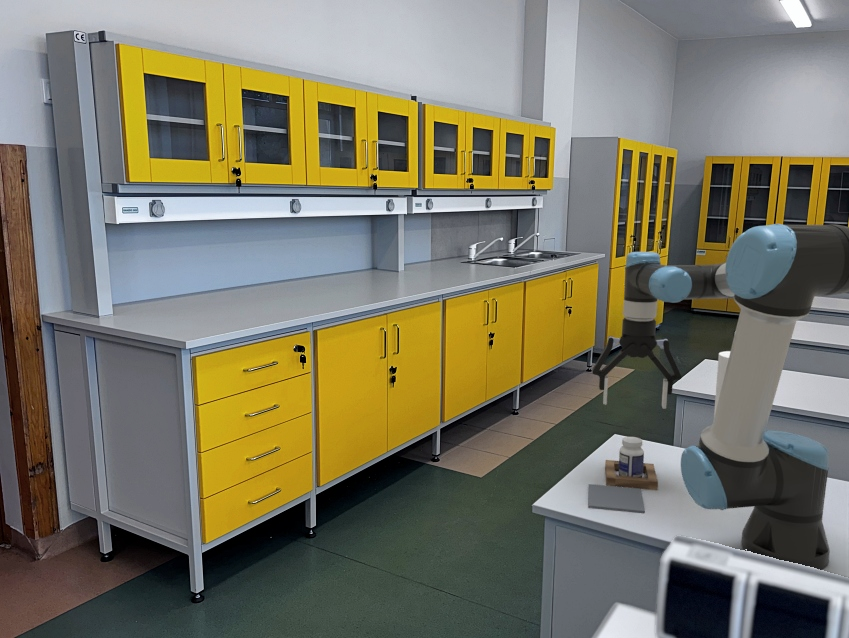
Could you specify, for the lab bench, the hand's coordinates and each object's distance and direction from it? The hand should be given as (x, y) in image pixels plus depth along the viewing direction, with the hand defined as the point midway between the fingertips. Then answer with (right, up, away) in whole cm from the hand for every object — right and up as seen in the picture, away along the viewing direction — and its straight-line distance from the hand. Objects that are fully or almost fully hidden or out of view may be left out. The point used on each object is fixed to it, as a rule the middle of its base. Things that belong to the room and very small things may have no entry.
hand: (634, 405), depth 167 cm
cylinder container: (+27, -17, +9) cm, 33 cm away
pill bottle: (0, -19, +3) cm, 19 cm away
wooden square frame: (0, -18, +3) cm, 19 cm away
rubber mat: (-7, -20, -9) cm, 23 cm away
